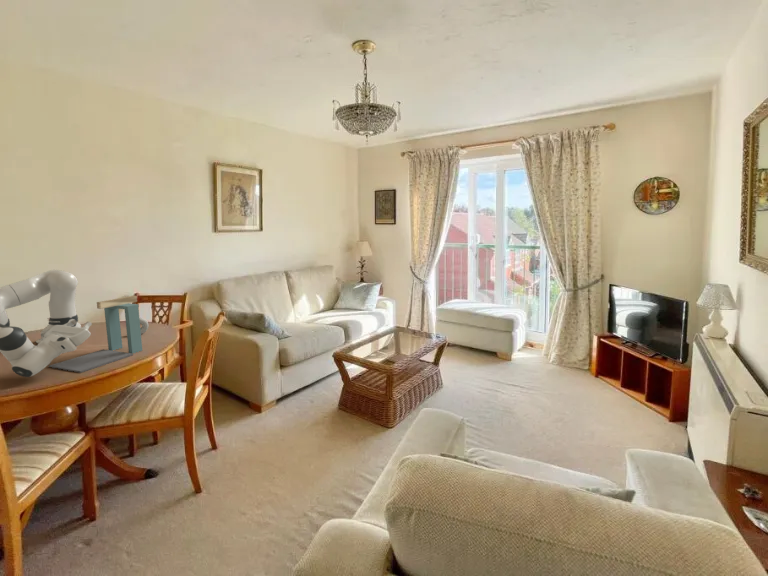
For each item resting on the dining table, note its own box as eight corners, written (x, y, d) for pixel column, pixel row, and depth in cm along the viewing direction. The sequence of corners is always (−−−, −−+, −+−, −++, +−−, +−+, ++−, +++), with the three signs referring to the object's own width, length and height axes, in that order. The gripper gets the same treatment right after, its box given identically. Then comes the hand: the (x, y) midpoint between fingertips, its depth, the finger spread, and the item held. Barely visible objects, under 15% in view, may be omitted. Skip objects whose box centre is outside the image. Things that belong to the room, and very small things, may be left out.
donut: (129, 336, 225) (128, 319, 224) (129, 335, 228) (127, 318, 226) (149, 333, 231) (148, 317, 230) (148, 332, 234) (147, 315, 233)
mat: (48, 367, 176) (48, 365, 176) (103, 350, 199) (103, 349, 199) (80, 372, 170) (80, 371, 170) (133, 355, 193) (133, 353, 193)
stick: (97, 308, 186) (96, 302, 186) (133, 301, 204) (133, 295, 204) (101, 308, 186) (100, 302, 185) (137, 301, 204) (136, 295, 203)
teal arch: (108, 350, 200) (103, 304, 196) (119, 347, 205) (114, 302, 202) (132, 354, 195) (127, 306, 191) (142, 350, 200) (138, 304, 197)
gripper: (43, 346, 174) (70, 324, 184) (77, 351, 168) (102, 328, 178) (34, 336, 170) (62, 314, 180) (67, 341, 164) (94, 318, 174)
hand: (82, 321), depth 179 cm, fingers open, 8 cm apart
